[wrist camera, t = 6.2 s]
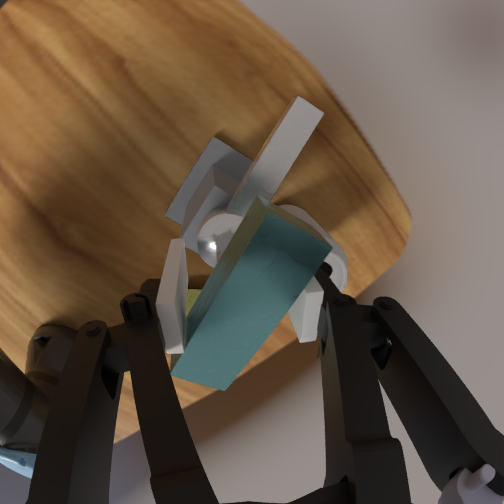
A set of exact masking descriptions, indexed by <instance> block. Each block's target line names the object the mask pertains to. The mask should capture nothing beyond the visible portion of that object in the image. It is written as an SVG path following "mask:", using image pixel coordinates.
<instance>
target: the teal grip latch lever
mask: <svg viewBox="0 0 504 504" xmlns="http://www.w3.org/2000/svg"><path fill="white" fill-rule="evenodd" d="M323 115H324V113H323V112H322V111H320V110H319V109H317V108H316V107H314V106H313V105H312V104H310V103H309V102H307V101H306V100H304V99H303V98H301V97H300V96H296V97H293V98H292V100H291V101H290V103H289V104H288V106H287V107H286V109H285V111H284V112H283V114H282V115H281V117H280V119H279V120H278V122H277V123H276V125H275V127H274V128H273V130H272V131H271V133H270V135H269V136H268V138H267V140H266V141H265V143H264V144H263V146H262V148H261V149H260V151H259V153H258V154H257V156H256V158H255V159H254V161H253V163H252V164H251V166H250V168H249V169H248V171H247V173H246V174H245V176H244V178H243V180H242V181H241V183H240V185H239V186H238V188H237V190H236V192H235V193H234V195H233V197H232V198H231V200H230V202H229V204H228V205H227V207H219V208H216V209H213V210H212V211H210V212H209V213H207V214H206V215H205V216H204V217H203V219H202V220H201V222H200V224H199V228H198V236H197V248H198V252H199V254H200V256H201V258H202V259H203V260H204V262H206V263H207V264H208V265H209V266H211V267H213V268H214V269H213V271H212V273H211V275H210V276H209V278H208V280H207V282H206V283H205V285H204V287H203V289H202V290H201V292H200V294H199V296H198V297H197V299H196V301H195V303H194V305H193V306H192V308H191V310H190V312H189V313H188V315H187V317H186V321H185V340H184V353H179V354H171V364H170V374H171V376H174V377H178V378H181V379H184V380H187V381H191V382H194V383H197V384H201V385H204V386H208V387H212V388H215V389H219V390H223V391H225V390H226V388H228V386H229V385H230V384H231V383H232V382H233V380H234V379H235V378H236V377H237V375H238V374H239V373H240V372H241V371H242V369H243V368H244V367H245V366H246V364H247V363H248V362H249V361H250V359H251V358H252V357H253V356H254V354H255V353H256V352H257V351H258V349H259V348H260V347H261V346H262V344H263V343H264V342H265V340H266V339H267V338H268V337H269V335H270V334H271V333H272V331H273V330H274V329H275V327H276V326H277V325H278V324H279V322H280V321H281V320H282V318H283V317H284V316H285V314H286V313H287V312H288V310H289V309H290V308H291V306H292V305H293V303H294V302H295V301H296V299H297V298H298V297H299V295H300V294H301V293H302V291H303V290H304V288H305V287H306V286H307V284H308V283H309V281H310V280H311V279H312V277H313V276H314V274H315V273H316V272H317V270H318V269H319V267H320V266H321V264H322V263H323V262H324V260H325V259H326V257H327V256H328V254H329V253H330V251H331V250H332V248H333V247H332V246H331V245H330V244H329V243H328V242H327V241H326V239H325V238H324V237H323V236H322V235H321V234H320V233H319V232H318V231H317V230H316V229H315V228H314V227H313V226H312V225H310V224H308V223H307V222H305V221H303V220H301V219H300V218H298V217H296V216H294V215H293V214H291V213H289V212H287V211H286V210H284V209H282V208H280V207H278V206H277V205H275V204H273V203H271V202H270V200H271V199H272V197H273V195H274V194H275V192H276V190H277V189H278V187H279V186H280V184H281V182H282V181H283V179H284V177H285V176H286V174H287V173H288V171H289V169H290V168H291V166H292V164H293V163H294V161H295V160H296V158H297V156H298V155H299V153H300V151H301V150H302V148H303V147H304V145H305V143H306V142H307V140H308V139H309V137H310V135H311V134H312V132H313V131H314V129H315V127H316V126H317V124H318V123H319V121H320V119H321V118H322V116H323Z"/></svg>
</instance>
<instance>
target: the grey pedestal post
mask: <svg viewBox="0 0 504 504" xmlns="http://www.w3.org/2000/svg"><path fill="white" fill-rule="evenodd" d="M252 163H253V161H252V160H250V159H249V158H247V157H246V156H244V155H242V154H241V153H239V152H238V151H236V150H235V149H233V148H232V147H230V146H228V145H227V144H225V143H224V142H222V141H220V140H219V139H217V138H216V137H214V136H213V137H212V139H211V140H210V142H209V143H208V145H207V146H206V148H205V149H204V151H203V153H202V154H201V156H200V157H199V159H198V160H197V162H196V163H195V165H194V167H193V168H192V170H191V171H190V173H189V174H188V176H187V178H186V179H185V181H184V183H183V184H182V186H181V187H180V189H179V191H178V192H177V194H176V196H175V198H174V199H173V201H172V203H171V204H170V206H169V208H168V209H167V211H166V213H165V215H164V216H166V217H167V218H169V219H171V220H173V221H175V222H176V223H178V224H180V225H182V229H181V234H180V238H184V241H185V247H187V248H188V249H190V250H192V251H194V252H196V253H198V254H199V252H198V248H197V236H198V228H199V224H200V222H201V220H202V219H203V217H204V216H205V215H206V214H207V213H209V212H210V211H212V210H213V209H216V208H219V207H227V205H228V204H229V202H230V200H231V198H232V197H233V195H234V193H235V192H236V190H237V188H238V186H239V185H240V183H241V181H242V180H243V178H244V176H245V174H246V173H247V171H248V169H249V168H250V166H251V164H252Z"/></svg>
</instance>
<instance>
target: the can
mask: <svg viewBox="0 0 504 504" xmlns="http://www.w3.org/2000/svg"><path fill="white" fill-rule="evenodd" d="M278 207H280V208H282V209H284V210H286V211H287V212H289V213H291V214H293V215H294V216H296V217H298V218H300V219H301V220H303V221H305V222H307V223H308V224H310V225H312V226H313V227H314V228H315V229H316V230H317V231H318V232H319V233H320V234H321V235H322V236H323V237H324V238H325V239H326V241H327V242H328V243H329V244H330V245H331V246H332V247H333V248H332V250H331V251H330V253H329V254H328V256H327V257H326V259H325V260H324V262H323V263H322V264H321V266H320V267H319V268H321V269H322V270H324V271H325V272H326V273H327V274H328V276H329V278H331V280H332V282H334V284H335V285H336V287H337V288H338V289H339V291H340V292H341V293H342V291H343V290H344V288H345V286H346V282H347V279H348V269H347V258H346V255H345V253H344V250H343V249H342V247H341V246H340V245H339V244H338V243H337V242H336V241H335V240H334V239H333V238H332V237H331V236H330V235H329V234H328V233H327V232H326V231H325V230H324V229H323V228H322V227H321V226H320V225H319V224H318V223H317V222H316V221H315V220H314V219H313V218H312V217H311V216H310V215H309V214H308V213H307V212H305V211H304V210H303V209H301V208H299V207H297V206H294V205H280V206H278Z"/></svg>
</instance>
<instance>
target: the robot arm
mask: <svg viewBox="0 0 504 504" xmlns="http://www.w3.org/2000/svg"><path fill="white" fill-rule="evenodd" d="M187 292H188V270H187V261H186V252H185V241H184V238H179V239H171V243H170V246H169V250H168V254H167V258H166V262H165V266H164V270H163V274H162V278H161V279H147V280H146V281H145V282H144V283H143V284H142V286H141V289H140V292H139V293H133V294H130V295H128V296H126V297H124V298H123V299H122V300H121V303H120V307H121V310H122V314H123V317H124V320H125V323H123V324H120V325H117V326H113V327H109V328H108V327H107V325H106V323H105V322H103V321H100V320H93V321H89V322H87V323H85V324H84V325H83V326H81V328H80V329H79V331H78V332H76V331H74V330H72V329H69V328H67V327H63V326H59V325H45V326H42V327H40V328H38V329H37V330H36V331H35V333H34V335H33V336H32V338H31V340H30V342H29V345H28V352H27V360H26V369H25V374H24V373H23V372H22V371H21V370H20V369H19V368H18V367H17V366H16V365H15V364H14V363H13V362H12V361H11V359H10V358H9V357H8V356H7V355H6V354H5V353H4V351H3V350H2V349H1V348H0V463H2V464H3V465H5V466H6V467H8V468H10V469H12V470H14V471H16V472H18V473H20V474H22V475H24V476H26V477H29V478H31V484H30V490H29V496H28V500H27V502H26V503H25V504H109V485H110V471H111V460H112V451H113V442H114V434H115V426H116V419H117V412H118V406H119V400H120V394H121V388H122V382H123V377H124V372H127V371H130V374H131V380H132V387H133V393H134V399H135V405H136V410H137V415H138V420H139V425H140V430H141V434H142V438H143V443H144V447H145V451H146V455H147V459H148V463H149V466H150V471H151V477H150V484H151V489H152V491H153V495H154V499H155V502H156V504H219V503H218V500H217V498H216V496H215V494H214V491H213V489H212V487H211V485H210V482H209V480H208V478H207V475H206V473H205V471H204V469H203V466H202V464H201V461H200V459H199V456H198V454H197V451H196V448H195V446H194V443H193V440H192V438H191V435H190V432H189V430H188V427H187V424H186V421H185V419H184V415H183V412H182V409H181V406H180V403H179V400H178V397H177V394H176V391H175V387H174V384H173V381H172V377H171V374H170V371H169V367H168V363H167V360H166V356H165V353H164V352H165V348H166V351H167V354H179V353H184V340H185V321H186V306H187ZM288 315H289V317H290V320H291V322H292V324H293V327H294V329H295V332H296V334H297V336H298V339H299V341H300V343H301V342H309V341H315V340H316V336H317V331H318V333H319V335H320V337H321V340H320V345H319V350H318V355H317V357H320V359H321V371H322V386H323V401H324V420H325V446H326V477H325V481H324V486H323V488H320V489H318V490H316V491H314V492H311V493H309V494H307V495H305V496H303V497H301V498H299V499H296V500H294V501H292V502H289V503H284V504H412V503H411V498H410V491H409V485H408V478H407V472H406V466H405V460H404V455H403V449H402V446H401V443H400V441H399V440H398V439H397V438H392V436H391V434H390V431H389V425H388V421H387V416H386V412H385V406H384V402H383V398H382V394H381V389H380V385H379V381H380V383H381V385H382V387H383V388H384V390H385V392H386V394H387V396H388V398H389V399H390V401H391V403H392V405H393V407H394V409H395V410H396V412H397V414H398V416H399V418H400V420H401V422H402V423H403V425H404V427H405V429H406V431H407V433H408V435H409V437H410V439H411V441H412V443H413V445H414V447H415V449H416V450H417V453H418V455H419V456H420V458H421V460H422V463H423V465H424V466H425V469H426V470H427V472H428V474H429V476H430V478H431V479H432V481H433V482H434V483H435V485H436V486H437V487H438V488H439V490H441V492H442V494H441V497H440V499H439V501H438V504H502V502H503V500H504V435H503V434H501V433H500V432H499V431H498V430H496V429H495V427H494V426H493V425H492V423H491V421H490V420H489V418H488V417H487V415H486V414H485V412H484V411H483V410H482V408H481V407H480V405H479V404H478V402H477V401H476V400H475V398H474V397H473V395H472V394H471V393H470V391H469V390H468V389H467V387H466V386H465V384H464V383H463V382H462V380H461V379H460V378H459V376H458V375H457V374H456V372H455V371H454V370H453V368H452V367H451V366H450V365H449V363H448V362H447V361H446V359H445V358H444V357H443V355H442V354H441V353H440V352H439V350H438V349H437V348H436V347H435V345H434V344H433V343H432V342H431V340H430V339H429V338H428V337H427V336H426V334H425V333H424V332H423V331H422V330H421V328H420V327H419V326H418V325H417V324H416V323H415V321H414V320H413V319H412V318H411V317H410V315H409V314H408V313H407V312H406V311H405V310H404V308H403V307H402V306H401V305H400V304H399V303H398V302H397V301H396V300H394V299H392V298H390V297H378V298H376V299H374V301H373V305H372V306H371V305H359V304H357V303H356V301H355V299H354V298H352V297H351V296H349V295H346V294H342V293H341V292H340V291H339V289H338V288H337V287H336V285H335V284H334V282H332V280H331V278H329V276H328V274H327V273H326V272H325V271H324V270H322V269H321V268H319V269H318V270H317V272H316V273H315V274H314V276H313V277H312V279H311V280H310V281H309V283H308V284H307V286H306V287H305V288H304V290H303V291H302V293H301V294H300V295H299V297H298V298H297V299H296V301H295V302H294V303H293V305H292V306H291V308H290V309H289V310H288ZM389 341H391V344H392V345H391V344H390V342H389ZM378 380H379V381H378ZM223 504H281V503H263V502H251V501H247V502H236V503H223ZM282 504H283V503H282Z"/></svg>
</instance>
